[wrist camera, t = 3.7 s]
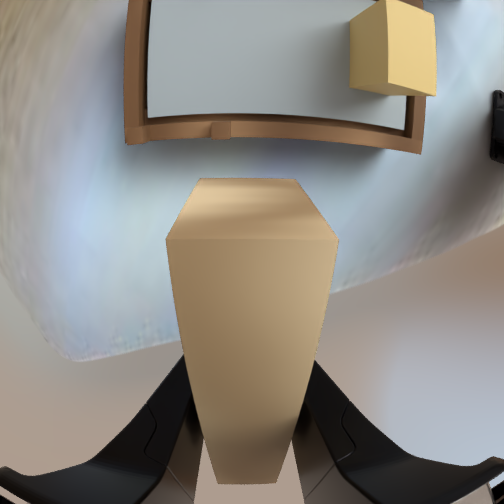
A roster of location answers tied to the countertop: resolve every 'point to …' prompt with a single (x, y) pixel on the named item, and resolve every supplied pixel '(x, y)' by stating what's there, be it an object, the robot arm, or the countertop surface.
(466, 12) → the countertop surface
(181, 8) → the lid
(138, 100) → the brown frame
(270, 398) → the tan block
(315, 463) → the robot arm
